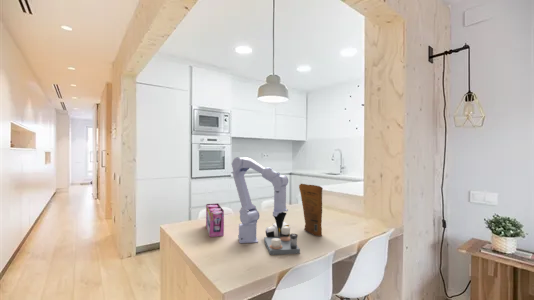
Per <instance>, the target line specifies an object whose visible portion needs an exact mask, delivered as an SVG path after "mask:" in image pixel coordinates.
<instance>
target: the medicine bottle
mask: <svg viewBox="0 0 534 300" xmlns="http://www.w3.org/2000/svg"><path fill="white" fill-rule="evenodd" d="M283 226H288V227H290V224H288V223H287V222H286V221H283ZM290 234H291V233H290ZM290 234H288V235H284V234H282V233H281V228H277V225H276V222H274V223H272V225H271V226H269V227H268V226H267V227H266V228H265V237H284V236H290Z"/></svg>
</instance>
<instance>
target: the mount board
mask: <svg viewBox="0 0 534 300" xmlns="http://www.w3.org/2000/svg"><path fill="white" fill-rule="evenodd" d="M273 238H279V239H281V247H279V248H273V247H272V246H271V239H273ZM263 239H264V240H263V242H264V244H265V246H266V248H267V252H268V253H269V256H274V255H292V254H293V255H294V254H295V255H296V254H300V253H301V248H300V246H298V245H297V248H296V249H292V248H290V236H284V237H267V236H265V237H263Z"/></svg>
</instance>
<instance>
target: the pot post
mask: <svg viewBox="0 0 534 300" xmlns="http://www.w3.org/2000/svg"><path fill="white" fill-rule="evenodd" d="M297 246H298V234H296V233H290V248H292V249H296V248H297Z"/></svg>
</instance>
